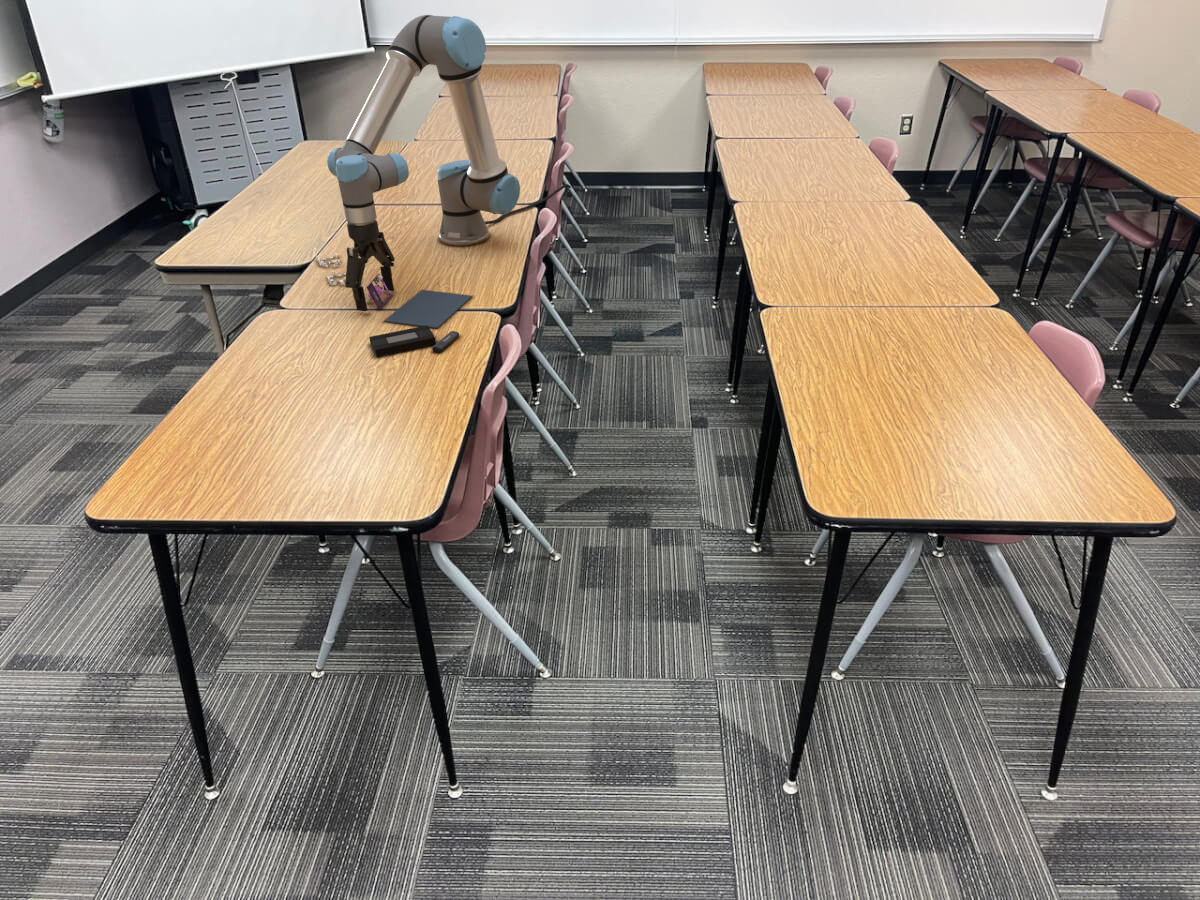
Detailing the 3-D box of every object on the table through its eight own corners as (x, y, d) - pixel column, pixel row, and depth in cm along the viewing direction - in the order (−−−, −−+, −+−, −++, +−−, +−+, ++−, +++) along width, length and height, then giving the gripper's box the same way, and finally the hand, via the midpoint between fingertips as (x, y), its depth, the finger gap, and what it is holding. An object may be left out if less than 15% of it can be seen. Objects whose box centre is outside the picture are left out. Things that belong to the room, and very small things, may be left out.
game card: (369, 285, 209) (381, 272, 216) (352, 291, 211) (365, 278, 218) (382, 308, 212) (393, 294, 220) (365, 314, 214) (377, 300, 221)
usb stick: (440, 353, 192) (440, 348, 191) (431, 352, 192) (430, 346, 192) (460, 336, 199) (460, 331, 198) (451, 335, 200) (450, 329, 199)
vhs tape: (370, 344, 196) (369, 336, 195) (428, 332, 201) (427, 325, 200) (376, 357, 191) (375, 349, 190) (436, 345, 195) (435, 337, 194)
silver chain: (340, 255, 246) (339, 251, 245) (357, 284, 227) (356, 279, 226) (316, 260, 243) (315, 255, 242) (331, 289, 224) (330, 284, 223)
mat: (422, 291, 222) (421, 289, 222) (471, 297, 218) (471, 295, 218) (384, 322, 207) (384, 320, 206) (437, 328, 203) (437, 327, 202)
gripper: (374, 205, 215) (387, 280, 227) (320, 236, 195) (337, 317, 207) (399, 207, 213) (411, 283, 225) (347, 238, 193) (363, 320, 205)
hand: (376, 300), depth 216 cm, fingers open, 13 cm apart
